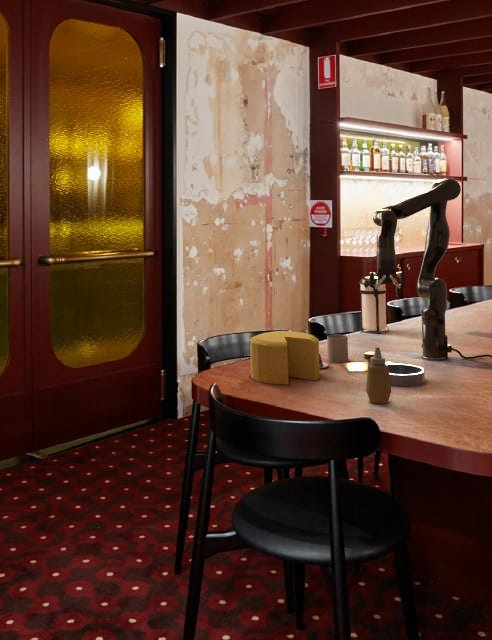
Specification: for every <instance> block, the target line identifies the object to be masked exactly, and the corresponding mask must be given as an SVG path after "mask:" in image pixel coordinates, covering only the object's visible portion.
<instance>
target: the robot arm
mask: <svg viewBox="0 0 492 640" xmlns="http://www.w3.org/2000/svg"><path fill="white" fill-rule="evenodd" d="M461 191H462V187H461V184H460V182H459V181H457V180H456V179H453V178H443V179H438V180H436V181H434V182H433V184H432V185H431V188H430V190H428V191H425V192H422V193H420V194H416V195H413V196H410V197H407V198H404V199H403V200H401V201H399V202H397V203H394V204H392V205H388V206H385V207H382V208H380V209H378V210H376V211H375V212H374V213H373V216H372V221H373V223H374V225H376V226H378V227H380V232H379V233H377V235H376V255H375V257H376V272H374V273H371V272H372V271H370V272H369V273H368V277H369V287H371V288H373V290H374V296H375V298H378V289H377V288H378V287H379V285H380V284H381V283H387V284H393V285H394V286H395V298H397V299H399V298H400V297H401V288H405V287H406V280H405V273H404V272H403V271H397V262H396V261H397V259H396V257H397V256H396V247H395V236H396V232H397V225H398V221H399V220H404V219H406V218H407V219H408V218H409V217H410V216H413V215H415V214H418V213H419V212H422V211H424V210H426V209H428V208H429V215H428V221H427V222H428V223H427V228H426V229H427V230H426V236H425V243H424V251H423V256H422V262H421V267H420V271H419V275H418V279H417V283H416V292H417V295H418V297H419V298H420V299H423V300H427V301H429V304H428V306H426V307H425V308H423V309H421V339H422V342H421V348H422V359H424V360H430V361H444V360H448V359H449V354H450V353H452V352H455V353H457V354H458V355H459V356H460V357H461V358H462V359H465V360H473V359H477V358H478V359H479V358H486V357H487V358H491V359H492V354H478V355H474V356H465V355H463V354H462V353H461V351H460V350H459V349H456V348H454V347H453V346H452V345H451V344H449V342H448V335H446V332H447V331H446V312H447V307H448V287H447V283H446V281H444V279H442V278H438V277H435V274H436V270H437V268H438V265H439V263H440V262H441V260H442V259H443V258H444V256H445V255H446V253H447V251H448V249H449V244H450V238H451V237H450V236H451V231H450V226H449V222H448V220H447V206H448V202H450V201H453V200H455V199H457V198H458V197H459V196H460V194H461ZM375 277H377V278H378V280H377V281H376V283H375V284H374V285H373V278H375ZM397 277H398V278H399V282H400V283H399V282H398V280H397V279H396V278H397ZM380 281H381V282H380Z"/></svg>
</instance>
